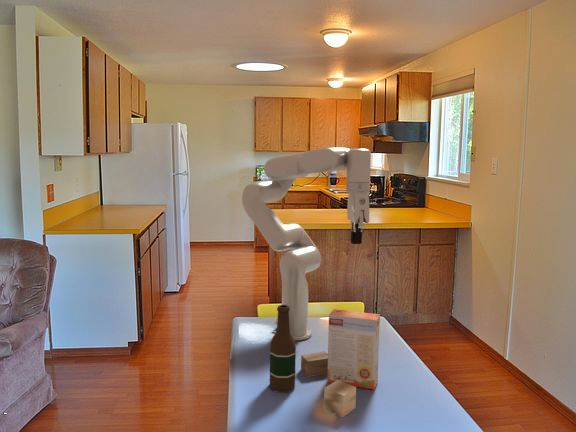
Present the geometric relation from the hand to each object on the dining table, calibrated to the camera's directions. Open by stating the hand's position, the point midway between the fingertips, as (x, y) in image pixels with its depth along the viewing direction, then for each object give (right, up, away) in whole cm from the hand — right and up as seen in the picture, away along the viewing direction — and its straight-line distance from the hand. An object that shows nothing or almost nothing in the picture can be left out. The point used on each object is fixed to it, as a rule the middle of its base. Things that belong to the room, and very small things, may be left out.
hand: (356, 243), depth 162 cm
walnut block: (-14, -39, -10) cm, 42 cm away
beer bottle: (-24, -40, -19) cm, 51 cm away
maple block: (-9, -42, -31) cm, 53 cm away
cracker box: (-3, -40, -16) cm, 43 cm away
